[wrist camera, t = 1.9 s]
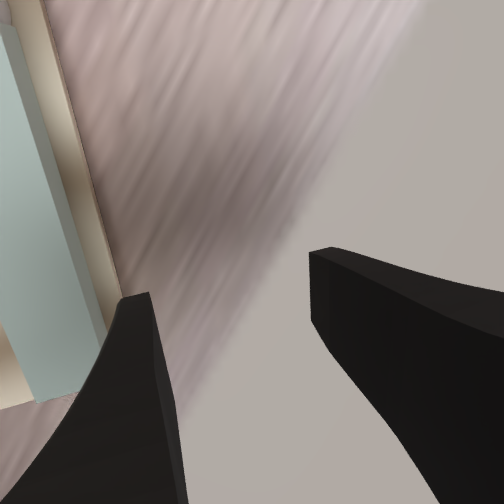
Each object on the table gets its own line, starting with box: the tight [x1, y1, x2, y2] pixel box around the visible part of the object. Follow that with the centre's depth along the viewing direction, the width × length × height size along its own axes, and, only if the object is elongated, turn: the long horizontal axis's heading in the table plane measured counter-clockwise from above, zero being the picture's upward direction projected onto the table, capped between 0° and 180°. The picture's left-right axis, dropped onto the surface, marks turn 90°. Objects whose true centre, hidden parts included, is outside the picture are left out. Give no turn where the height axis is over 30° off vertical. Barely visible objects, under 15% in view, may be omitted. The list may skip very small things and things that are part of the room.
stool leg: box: [0, 0, 107, 404], centre depth 13 cm, size 13×2×3 cm, turn 6°
